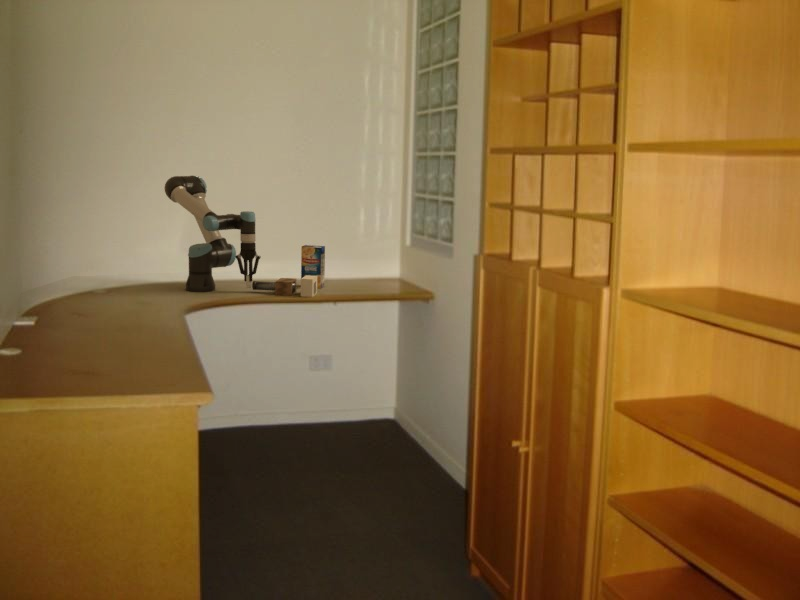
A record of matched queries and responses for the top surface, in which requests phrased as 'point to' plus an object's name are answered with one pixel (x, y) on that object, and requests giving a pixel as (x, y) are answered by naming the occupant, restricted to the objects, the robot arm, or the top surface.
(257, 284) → the tube
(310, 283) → the socket
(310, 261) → the beverage box
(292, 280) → the sleeve
